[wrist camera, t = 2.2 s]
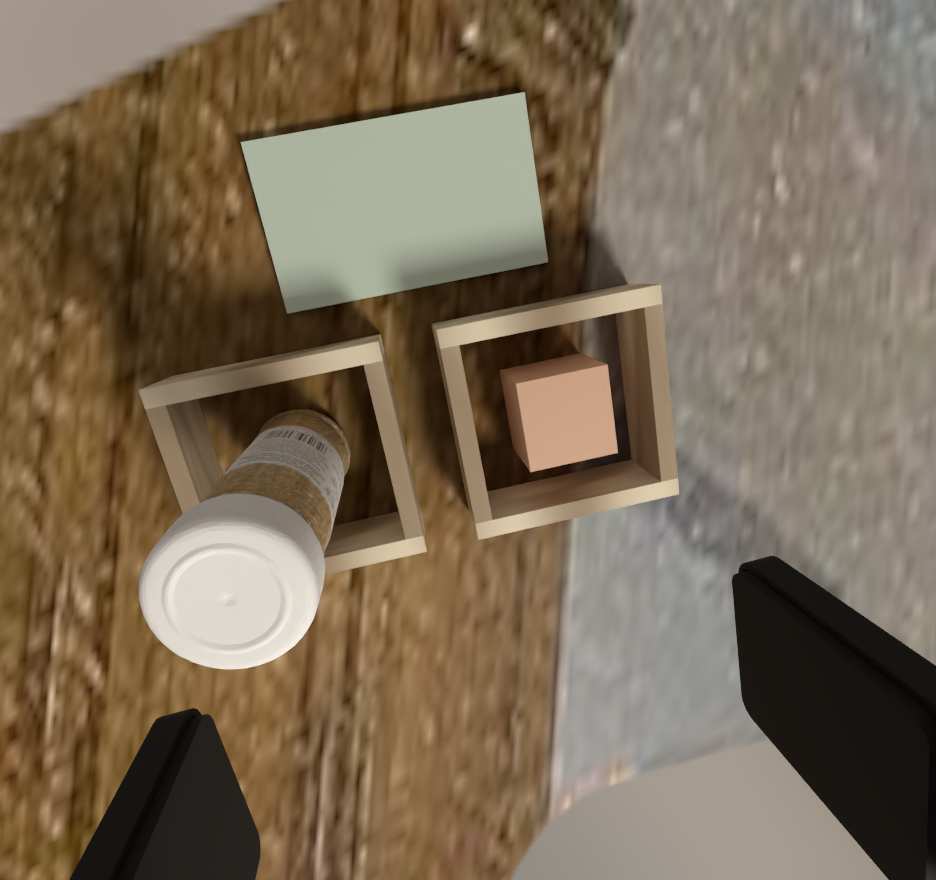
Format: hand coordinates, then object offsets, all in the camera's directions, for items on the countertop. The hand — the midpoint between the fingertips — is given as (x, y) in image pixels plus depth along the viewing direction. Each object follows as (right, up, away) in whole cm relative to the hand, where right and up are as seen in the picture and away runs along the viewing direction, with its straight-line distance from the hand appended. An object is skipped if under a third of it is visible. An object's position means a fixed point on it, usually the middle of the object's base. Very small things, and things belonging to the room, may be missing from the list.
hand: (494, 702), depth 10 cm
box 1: (-8, +4, +18) cm, 20 cm away
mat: (-3, +15, +15) cm, 22 cm away
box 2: (+3, +6, +18) cm, 20 cm away
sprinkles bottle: (-8, +4, +18) cm, 20 cm away
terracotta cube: (+3, +6, +19) cm, 20 cm away
